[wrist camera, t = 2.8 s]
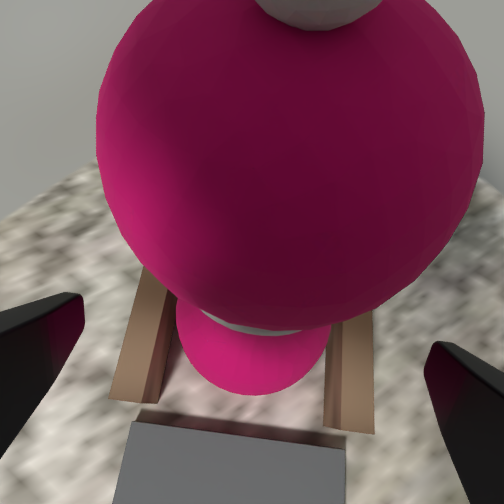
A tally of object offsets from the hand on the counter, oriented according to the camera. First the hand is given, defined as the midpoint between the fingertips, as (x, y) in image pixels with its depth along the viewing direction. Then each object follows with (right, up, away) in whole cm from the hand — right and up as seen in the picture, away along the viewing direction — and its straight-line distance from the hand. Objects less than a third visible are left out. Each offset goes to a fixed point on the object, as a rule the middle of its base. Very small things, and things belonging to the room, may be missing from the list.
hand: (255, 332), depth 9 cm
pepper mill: (0, -3, +12) cm, 12 cm away
